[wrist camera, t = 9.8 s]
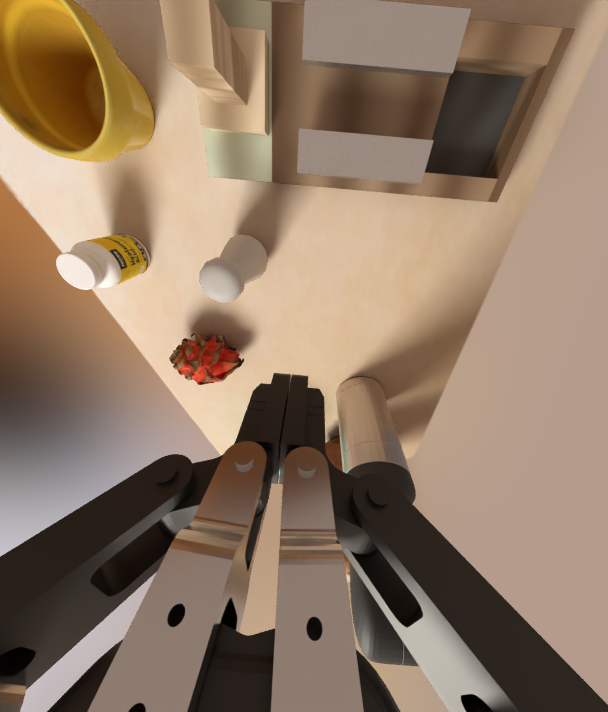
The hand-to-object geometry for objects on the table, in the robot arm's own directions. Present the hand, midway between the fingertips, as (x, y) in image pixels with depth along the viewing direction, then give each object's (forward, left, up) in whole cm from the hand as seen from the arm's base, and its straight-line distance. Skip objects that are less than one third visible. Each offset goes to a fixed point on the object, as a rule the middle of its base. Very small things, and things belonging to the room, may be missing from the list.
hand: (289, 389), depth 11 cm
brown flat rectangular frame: (+8, -12, -28) cm, 31 cm away
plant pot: (+24, +8, -28) cm, 37 cm away
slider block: (+16, -3, -25) cm, 30 cm away
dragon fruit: (-3, +23, -28) cm, 36 cm away
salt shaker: (+5, +7, -28) cm, 29 cm away
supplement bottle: (+15, +21, -28) cm, 38 cm away
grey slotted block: (+8, -12, -25) cm, 28 cm away
